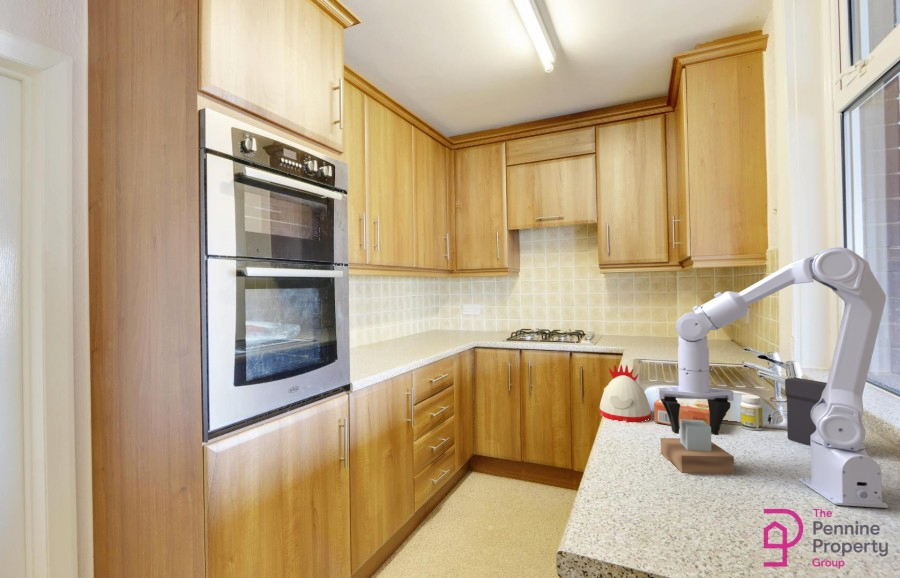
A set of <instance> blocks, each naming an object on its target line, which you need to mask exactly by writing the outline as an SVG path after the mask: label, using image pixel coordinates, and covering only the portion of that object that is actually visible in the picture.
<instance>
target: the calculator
mask: <svg viewBox="0 0 900 578" xmlns="http://www.w3.org/2000/svg"><path fill="white" fill-rule="evenodd" d="M826 385H827V382H825V381H817V380H812V379H806V378H801V377H789V378H785V379H784V393H785V396H786V418H787V419H786V420H787V423H786V425H787V428H786V429H787V431H786V432H787V439H788V440H789V441H793V442H795V443H799V444H802V445H806V446H809V447H811V441H810V439H811V438H810V435H811V434H813V433H814V432H815V431H816V429H817V428H816V425H815V424H814V423H813V421H812V419H811V410H812V408H813V406H814V405H816V404H817V403H818V402H819V401H820V399H821V396H822V392H823V390H824V389H825V387H826Z"/></svg>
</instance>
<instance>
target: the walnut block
mask: <svg viewBox="0 0 900 578" xmlns="http://www.w3.org/2000/svg"><path fill="white" fill-rule="evenodd" d="M661 454H662V455H663V458H664V459H665V460H667V461H668V462H669V461H670V462H671V463H672V464H673V465H674V466H675V467H676V470H678V471H679V472H680V473H681V474H682V473H688V475H691V474H692V475H735V456H734V455H732V454H731V453H729V452H728V451H726V450H724V449H723V448H721V446H718V445H717V444H715V443H714V442H713V441H711V452H710V451H695V450H687V449H686V448H685V447H684V446H683V445H682V444H681V443H680V437H678V438H677V437H673V438H672V437H661V438H660V455H661ZM670 462H669V463H670ZM671 463H670V464H671ZM672 464H671V465H672ZM673 465H672V466H673ZM674 466H673V467H674Z"/></svg>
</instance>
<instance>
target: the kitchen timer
mask: <svg viewBox="0 0 900 578" xmlns="http://www.w3.org/2000/svg"><path fill="white" fill-rule="evenodd" d="M608 371H609V373H610V375H611V377H612V379H611V381H609V383H607V385H606V386H604V388H603V393H602V396H601V398H600V399H601V400H600V403H599V414H600V416H601V417H603V416H604V417H603V418H605V419H607V420H610V419H611V421H614V420H618V421H617V422H620V421H626V422H625V423H629V422H638V423H642V422H641V421H645V420H648V419H650V420H651V418H652V417H651V416H652V415H651V414H652V413H651V406H650V403H649V401H648V397H647V394H646V392H645V391H644V389H643V388H642V386H641V385H640V383H638V382H637V379H638V377H639V374H640V373H637V374H636V375H635V376H633V373H634V368H632V369H631V370H630V372H629V367H628V365H627V364H626V365H625V369H623V365H622V364H621V365H620V367H619V370H618V367H617V366H616V364H613V370H612V369H611V368H610V367H609V368H608ZM650 417H651V418H650ZM648 421H649V420H648ZM645 422H646V421H645Z"/></svg>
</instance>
